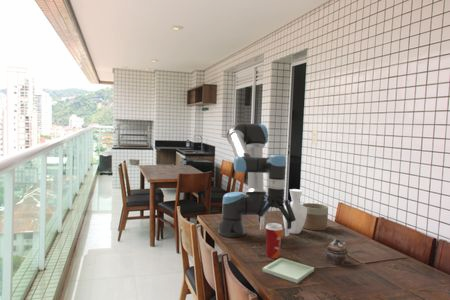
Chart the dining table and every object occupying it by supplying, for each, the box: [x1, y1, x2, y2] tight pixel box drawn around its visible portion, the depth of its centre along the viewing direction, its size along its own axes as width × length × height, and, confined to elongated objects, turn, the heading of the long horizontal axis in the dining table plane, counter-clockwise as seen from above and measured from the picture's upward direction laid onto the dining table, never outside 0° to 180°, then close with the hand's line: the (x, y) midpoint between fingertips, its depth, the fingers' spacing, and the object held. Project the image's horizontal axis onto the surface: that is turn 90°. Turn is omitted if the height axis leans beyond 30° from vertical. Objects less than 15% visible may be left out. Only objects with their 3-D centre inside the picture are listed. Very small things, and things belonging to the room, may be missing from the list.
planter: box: [301, 202, 329, 232], centre depth 214 cm, size 16×16×14 cm
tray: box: [262, 257, 315, 284], centre depth 144 cm, size 16×16×2 cm
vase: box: [282, 188, 307, 235], centre depth 202 cm, size 14×14×25 cm
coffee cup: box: [264, 222, 284, 259], centre depth 161 cm, size 8×8×15 cm
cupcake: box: [325, 238, 348, 266], centre depth 158 cm, size 10×10×10 cm
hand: (274, 232), depth 161 cm, fingers open, 13 cm apart
